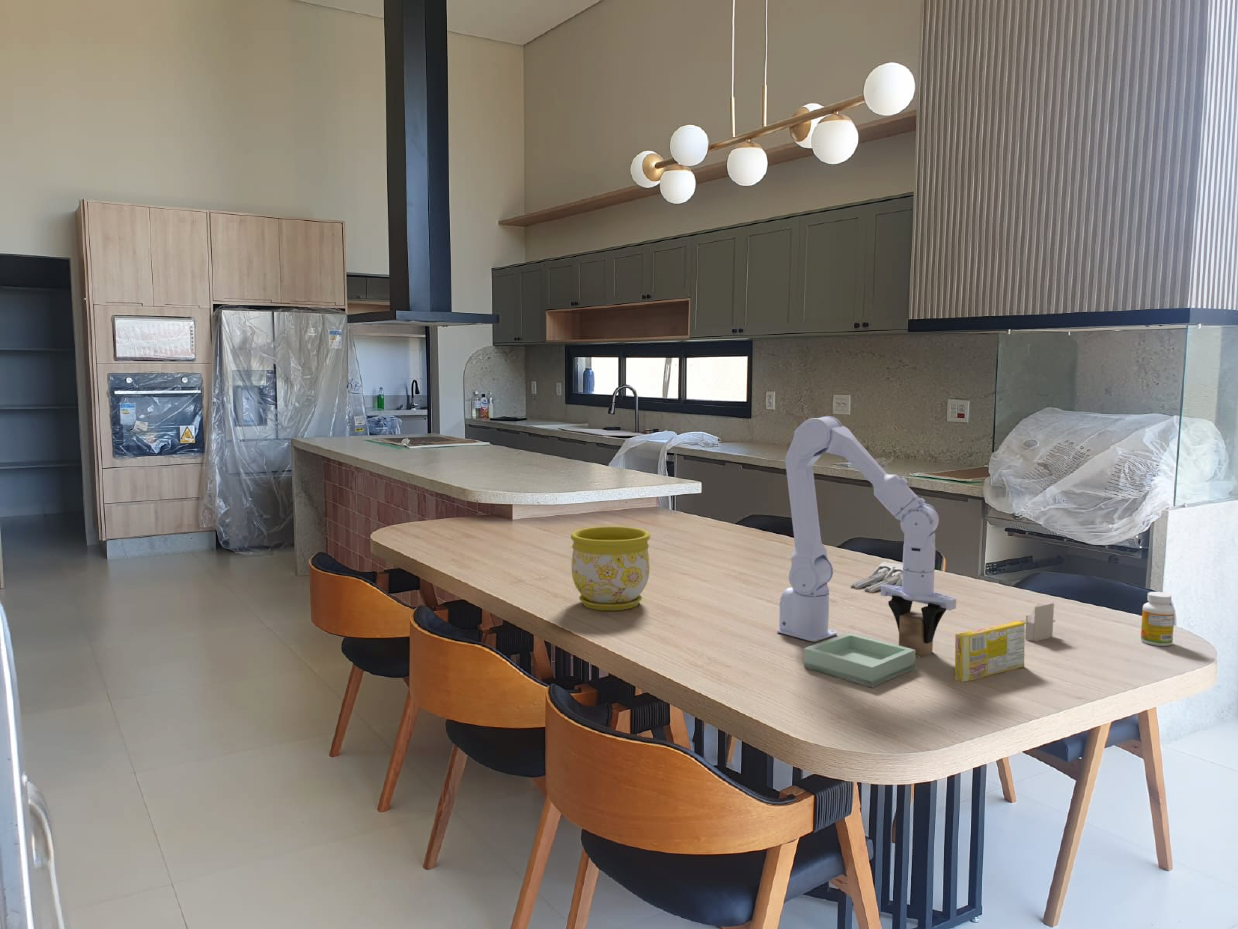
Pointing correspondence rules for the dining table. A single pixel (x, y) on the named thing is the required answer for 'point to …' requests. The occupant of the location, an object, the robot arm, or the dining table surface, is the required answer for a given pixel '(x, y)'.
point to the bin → (859, 659)
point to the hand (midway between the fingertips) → (915, 639)
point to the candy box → (989, 651)
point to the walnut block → (913, 633)
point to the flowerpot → (610, 566)
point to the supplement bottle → (1158, 620)
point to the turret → (882, 577)
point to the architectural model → (1040, 622)
